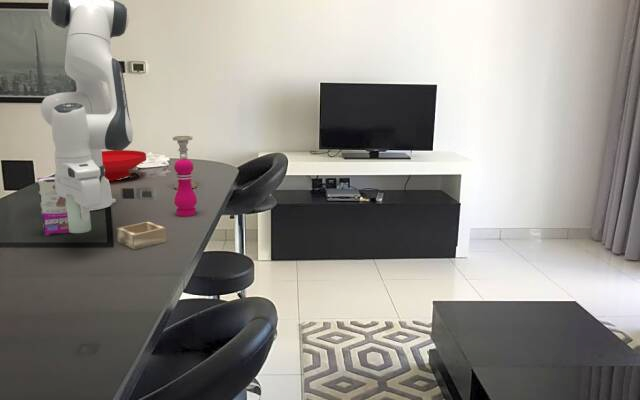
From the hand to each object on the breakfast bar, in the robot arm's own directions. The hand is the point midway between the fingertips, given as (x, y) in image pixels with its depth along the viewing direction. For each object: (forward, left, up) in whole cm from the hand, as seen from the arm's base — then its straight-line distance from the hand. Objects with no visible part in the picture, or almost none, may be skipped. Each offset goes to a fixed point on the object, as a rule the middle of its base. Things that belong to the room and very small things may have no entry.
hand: (79, 217), depth 148 cm
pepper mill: (-8, +38, -8) cm, 40 cm away
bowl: (-80, +48, -9) cm, 93 cm away
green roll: (0, 0, -4) cm, 4 cm away
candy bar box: (-17, +2, -8) cm, 19 cm away
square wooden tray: (+8, +13, -8) cm, 18 cm away
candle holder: (-42, +60, -8) cm, 74 cm away
